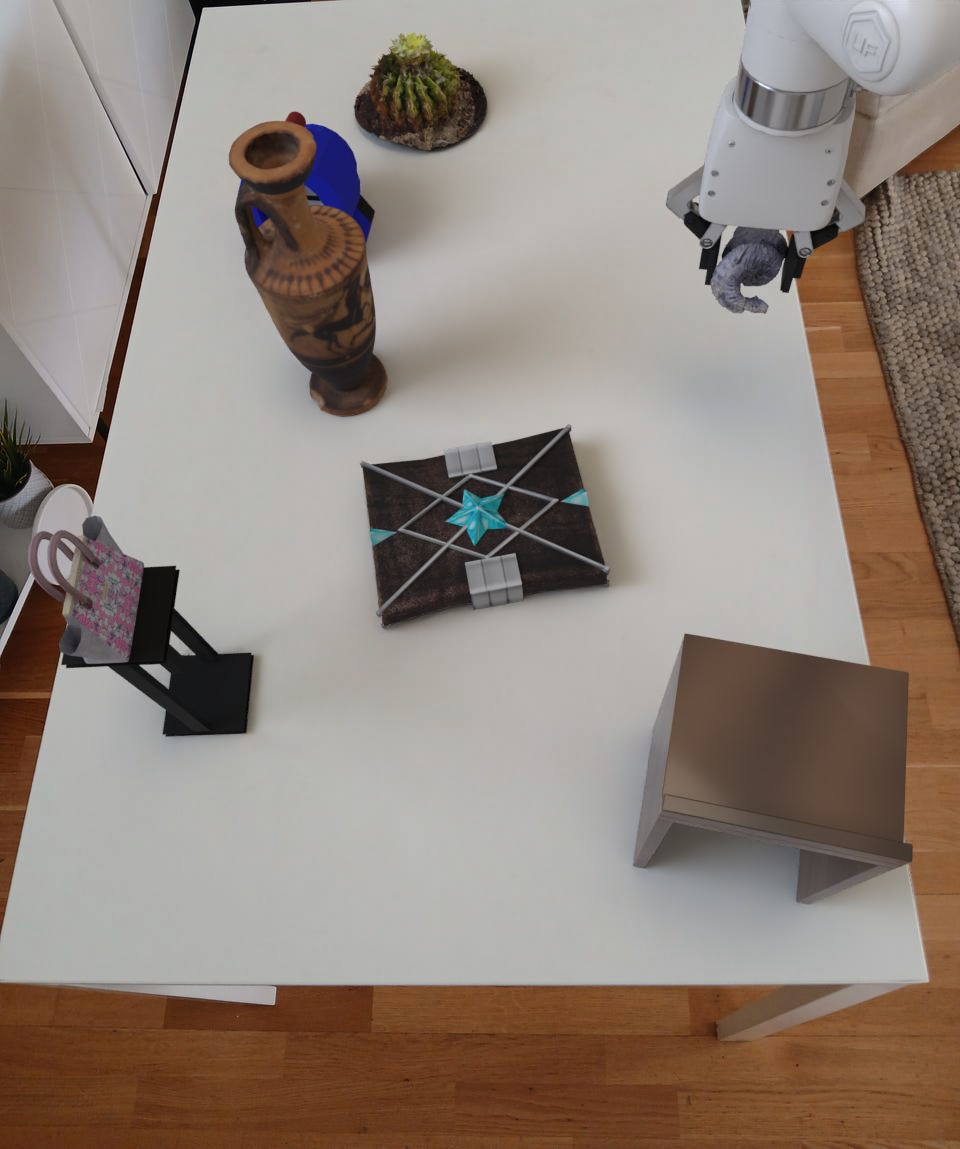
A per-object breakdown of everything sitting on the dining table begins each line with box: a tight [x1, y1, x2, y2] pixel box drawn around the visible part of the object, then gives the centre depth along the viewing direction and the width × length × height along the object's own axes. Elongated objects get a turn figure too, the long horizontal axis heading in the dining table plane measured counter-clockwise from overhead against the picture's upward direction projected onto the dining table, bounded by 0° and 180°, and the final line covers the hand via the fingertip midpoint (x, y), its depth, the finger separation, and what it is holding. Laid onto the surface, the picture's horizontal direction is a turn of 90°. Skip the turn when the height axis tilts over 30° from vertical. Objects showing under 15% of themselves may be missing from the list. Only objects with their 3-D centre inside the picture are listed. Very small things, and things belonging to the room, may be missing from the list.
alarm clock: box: [237, 111, 376, 243], centre depth 101 cm, size 12×12×15 cm
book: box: [359, 423, 611, 630], centre depth 87 cm, size 22×17×5 cm
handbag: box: [27, 515, 255, 738], centre depth 70 cm, size 10×8×30 cm
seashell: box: [710, 226, 789, 315], centre depth 76 cm, size 5×5×10 cm
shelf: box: [632, 633, 914, 905], centre depth 65 cm, size 14×12×24 cm
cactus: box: [353, 32, 488, 151], centre depth 111 cm, size 17×16×10 cm
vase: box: [228, 120, 388, 417], centre depth 84 cm, size 11×11×30 cm
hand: (747, 275), depth 78 cm, fingers closed on seashell, 5 cm apart
